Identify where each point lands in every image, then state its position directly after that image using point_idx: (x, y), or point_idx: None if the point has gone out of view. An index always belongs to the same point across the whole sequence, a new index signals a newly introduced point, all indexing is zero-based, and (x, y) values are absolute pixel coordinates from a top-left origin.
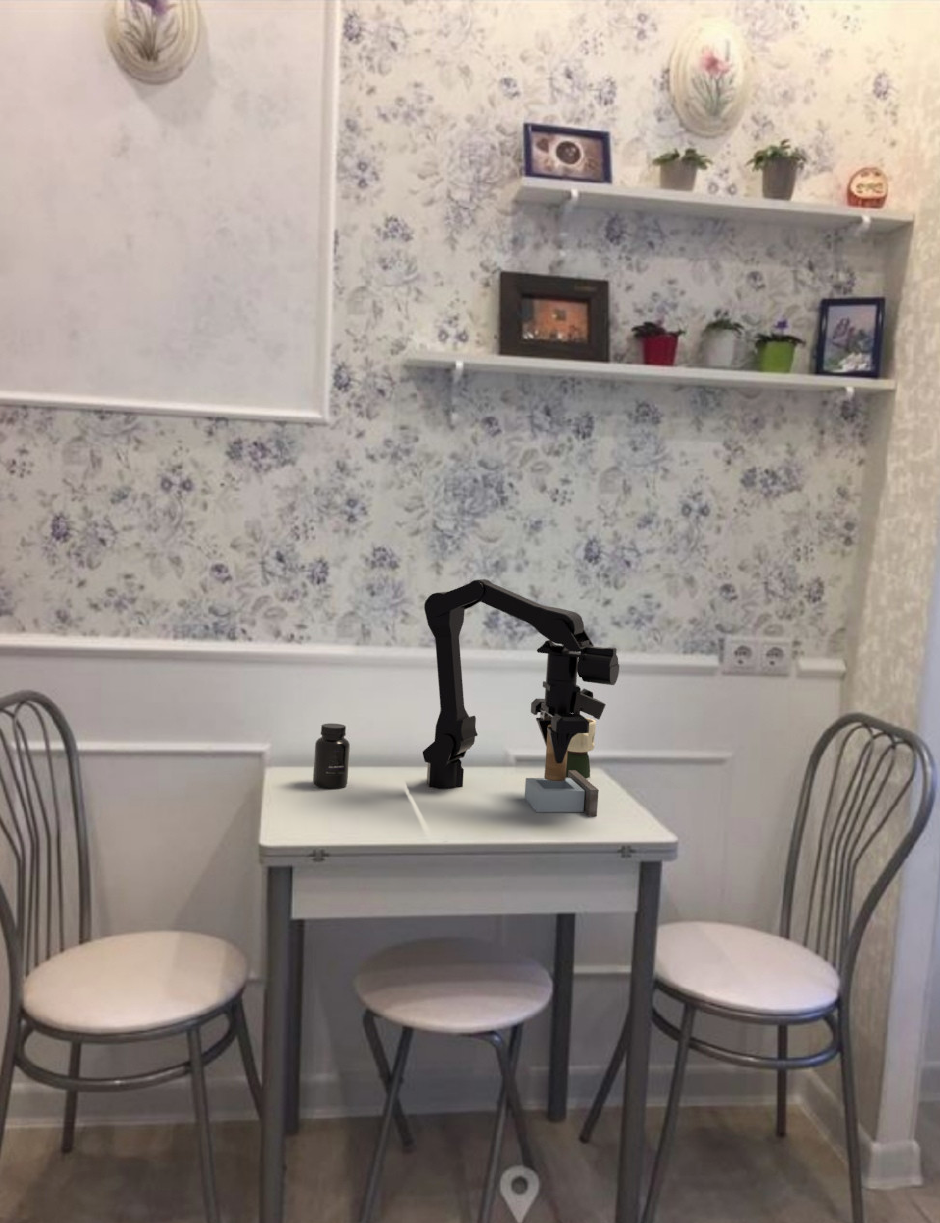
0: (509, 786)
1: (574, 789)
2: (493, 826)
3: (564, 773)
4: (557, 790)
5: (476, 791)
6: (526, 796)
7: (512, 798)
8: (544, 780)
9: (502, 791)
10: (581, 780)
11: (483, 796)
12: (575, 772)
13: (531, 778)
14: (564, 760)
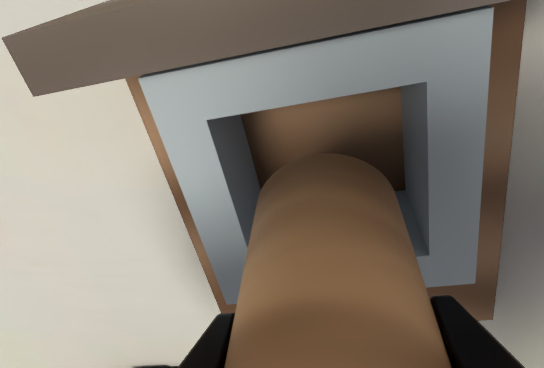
0: (24, 247)
1: (446, 85)
2: (526, 324)
3: (385, 197)
4: (469, 193)
5: (139, 333)
6: None
7: (181, 251)
8: (242, 232)
9: (103, 271)
10: (317, 25)
11: (188, 322)
12: (72, 47)
13: (226, 284)
14: (414, 284)
